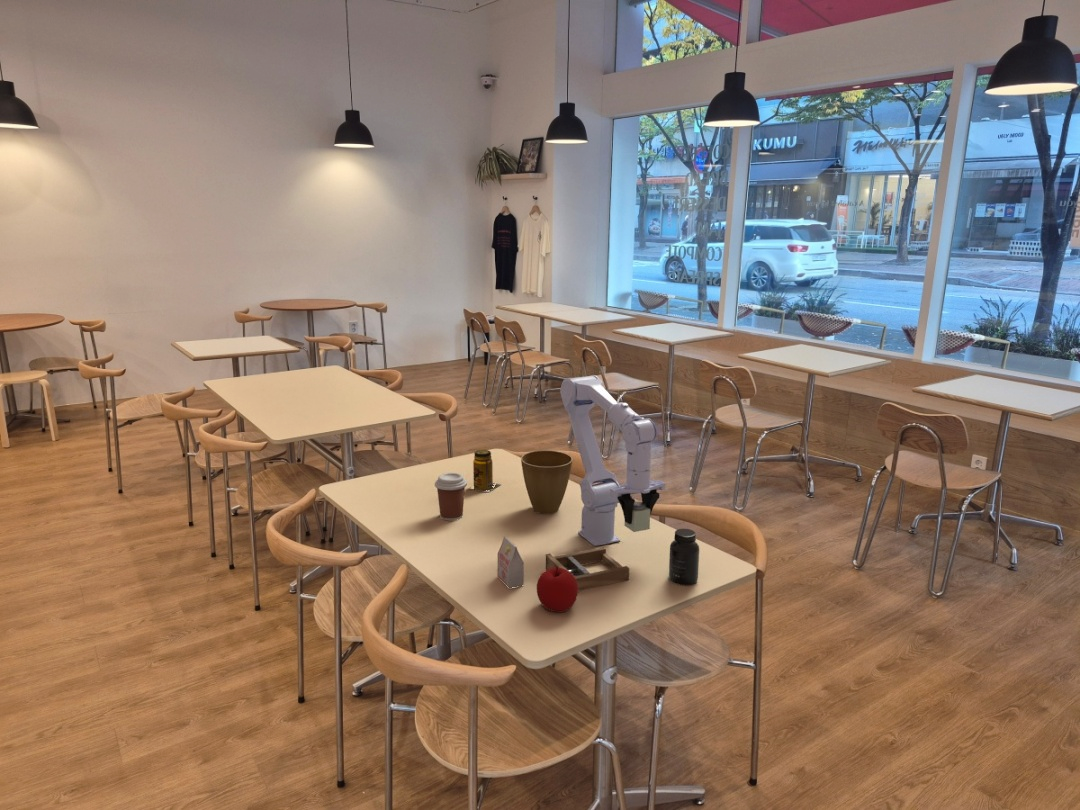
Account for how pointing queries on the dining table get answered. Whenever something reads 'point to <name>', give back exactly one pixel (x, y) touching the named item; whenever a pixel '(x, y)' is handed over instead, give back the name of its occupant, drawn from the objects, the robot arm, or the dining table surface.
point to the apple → (557, 589)
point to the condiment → (483, 471)
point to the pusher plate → (575, 567)
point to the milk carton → (510, 564)
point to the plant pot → (546, 478)
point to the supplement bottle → (684, 558)
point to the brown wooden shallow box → (596, 578)
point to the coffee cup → (451, 495)
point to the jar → (639, 518)
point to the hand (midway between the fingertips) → (637, 520)
